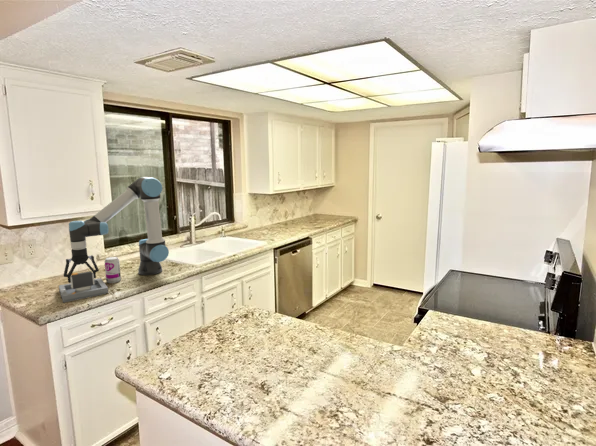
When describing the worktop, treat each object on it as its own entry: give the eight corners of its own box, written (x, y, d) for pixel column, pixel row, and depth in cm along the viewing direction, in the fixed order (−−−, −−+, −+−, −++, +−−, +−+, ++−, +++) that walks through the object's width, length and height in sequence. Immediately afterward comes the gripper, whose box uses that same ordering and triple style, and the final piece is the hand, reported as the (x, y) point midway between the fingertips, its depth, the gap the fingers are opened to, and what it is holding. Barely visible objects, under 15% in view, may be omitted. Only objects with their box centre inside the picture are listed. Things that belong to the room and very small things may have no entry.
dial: (92, 286, 217) (90, 269, 215) (94, 289, 211) (92, 272, 209) (72, 289, 211) (70, 272, 209) (74, 293, 205) (72, 275, 203)
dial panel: (101, 283, 227) (100, 277, 226) (108, 293, 209) (107, 287, 209) (59, 291, 213) (58, 285, 213) (63, 302, 196) (62, 295, 196)
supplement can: (115, 283, 226) (113, 260, 223) (103, 282, 228) (101, 259, 225) (123, 279, 234) (121, 256, 231) (112, 278, 235) (110, 256, 233)
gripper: (99, 244, 217) (103, 280, 221) (54, 250, 203) (58, 288, 207) (102, 246, 211) (106, 283, 215) (55, 252, 197) (60, 291, 201)
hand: (82, 285), depth 211 cm, fingers closed on dial, 10 cm apart
